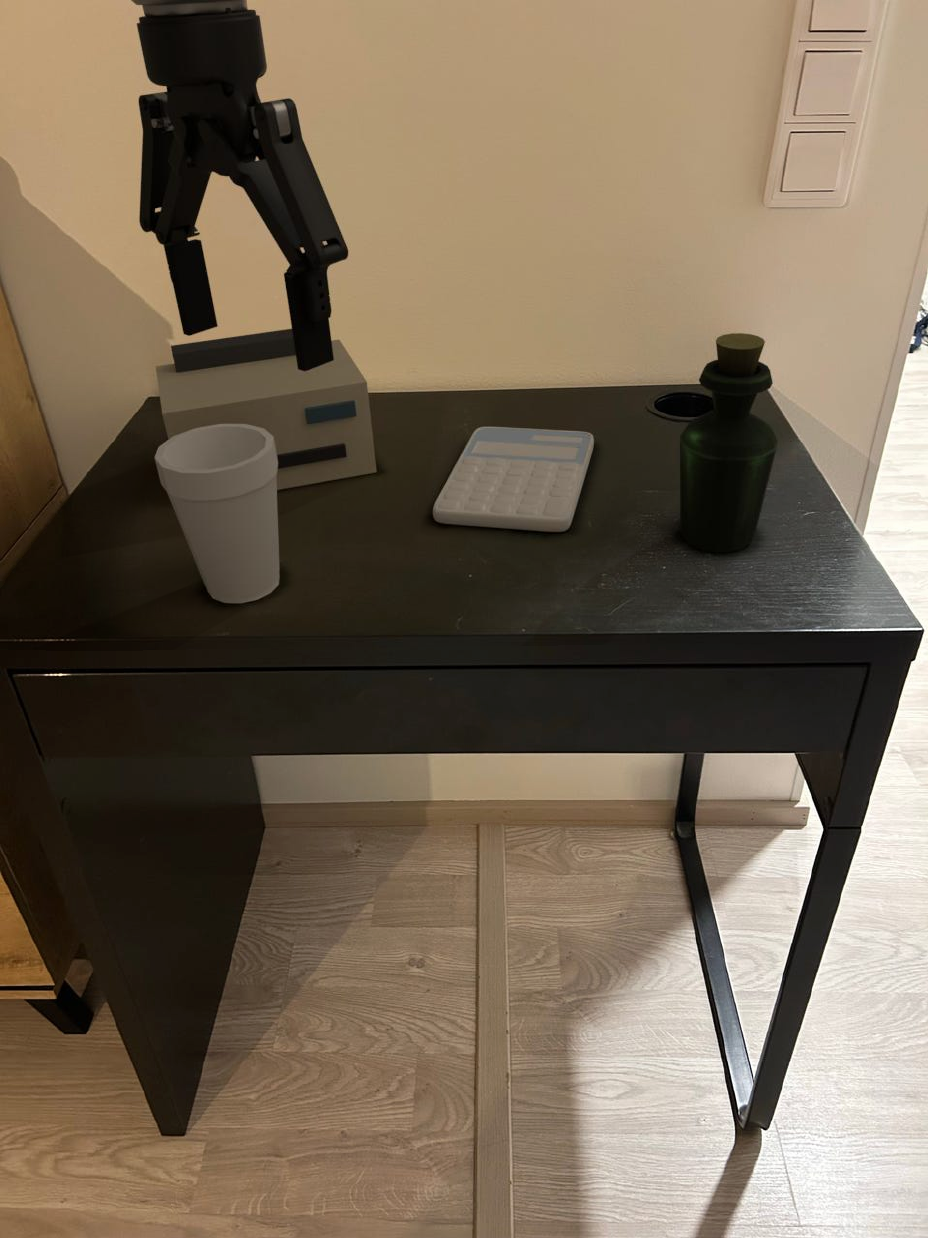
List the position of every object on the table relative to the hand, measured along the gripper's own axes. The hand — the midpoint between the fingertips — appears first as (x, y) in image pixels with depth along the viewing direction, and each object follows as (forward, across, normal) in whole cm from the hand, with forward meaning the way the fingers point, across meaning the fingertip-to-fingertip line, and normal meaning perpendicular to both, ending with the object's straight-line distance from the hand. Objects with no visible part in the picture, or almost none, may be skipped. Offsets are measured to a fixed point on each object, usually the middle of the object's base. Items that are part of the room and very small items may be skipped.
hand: (255, 347), depth 71 cm
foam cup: (+21, +4, +2) cm, 22 cm away
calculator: (+21, -3, -27) cm, 35 cm away
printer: (+21, +22, -15) cm, 34 cm away
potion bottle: (+21, -24, -29) cm, 44 cm away
